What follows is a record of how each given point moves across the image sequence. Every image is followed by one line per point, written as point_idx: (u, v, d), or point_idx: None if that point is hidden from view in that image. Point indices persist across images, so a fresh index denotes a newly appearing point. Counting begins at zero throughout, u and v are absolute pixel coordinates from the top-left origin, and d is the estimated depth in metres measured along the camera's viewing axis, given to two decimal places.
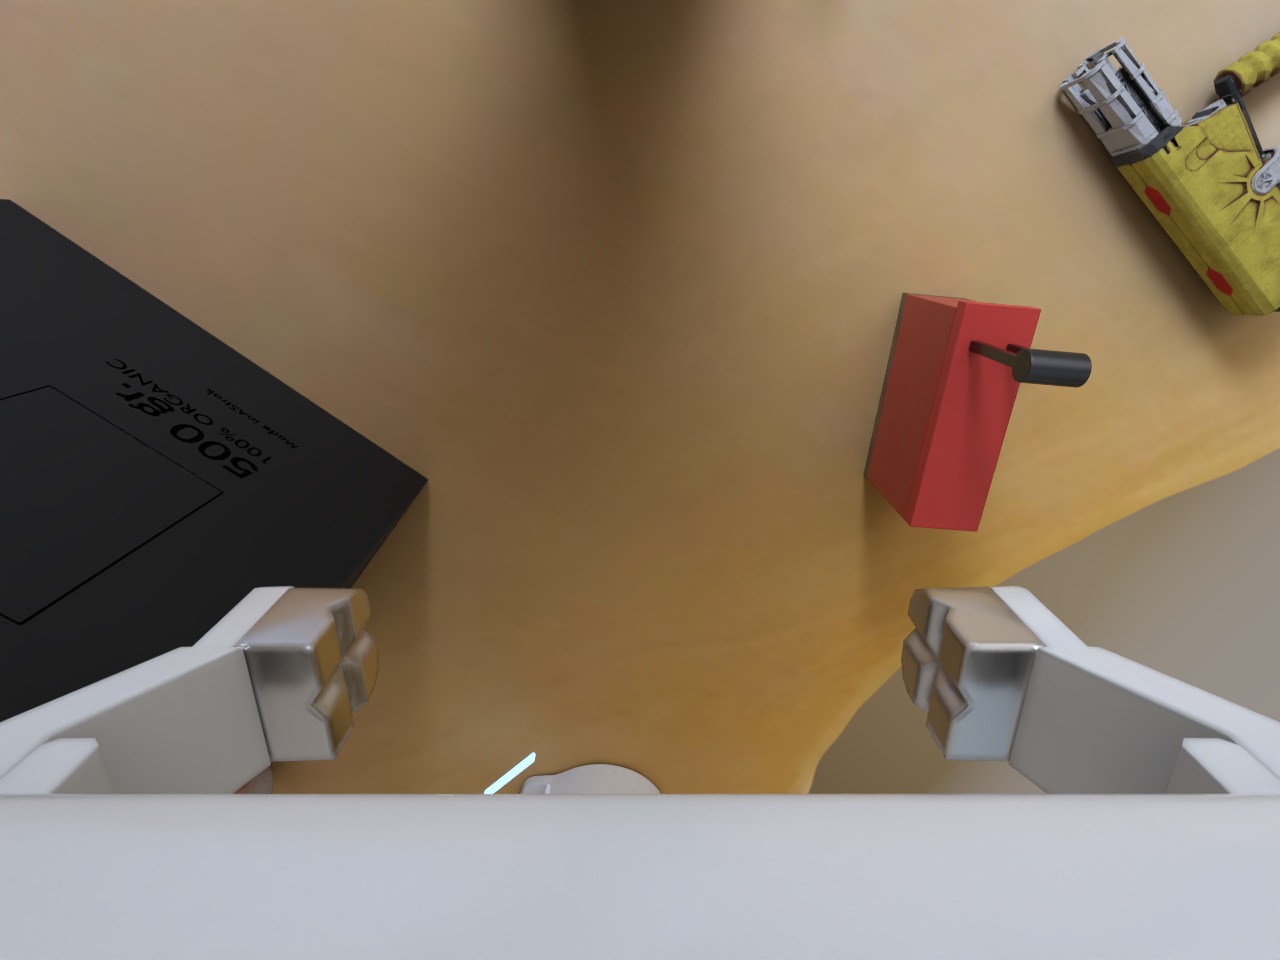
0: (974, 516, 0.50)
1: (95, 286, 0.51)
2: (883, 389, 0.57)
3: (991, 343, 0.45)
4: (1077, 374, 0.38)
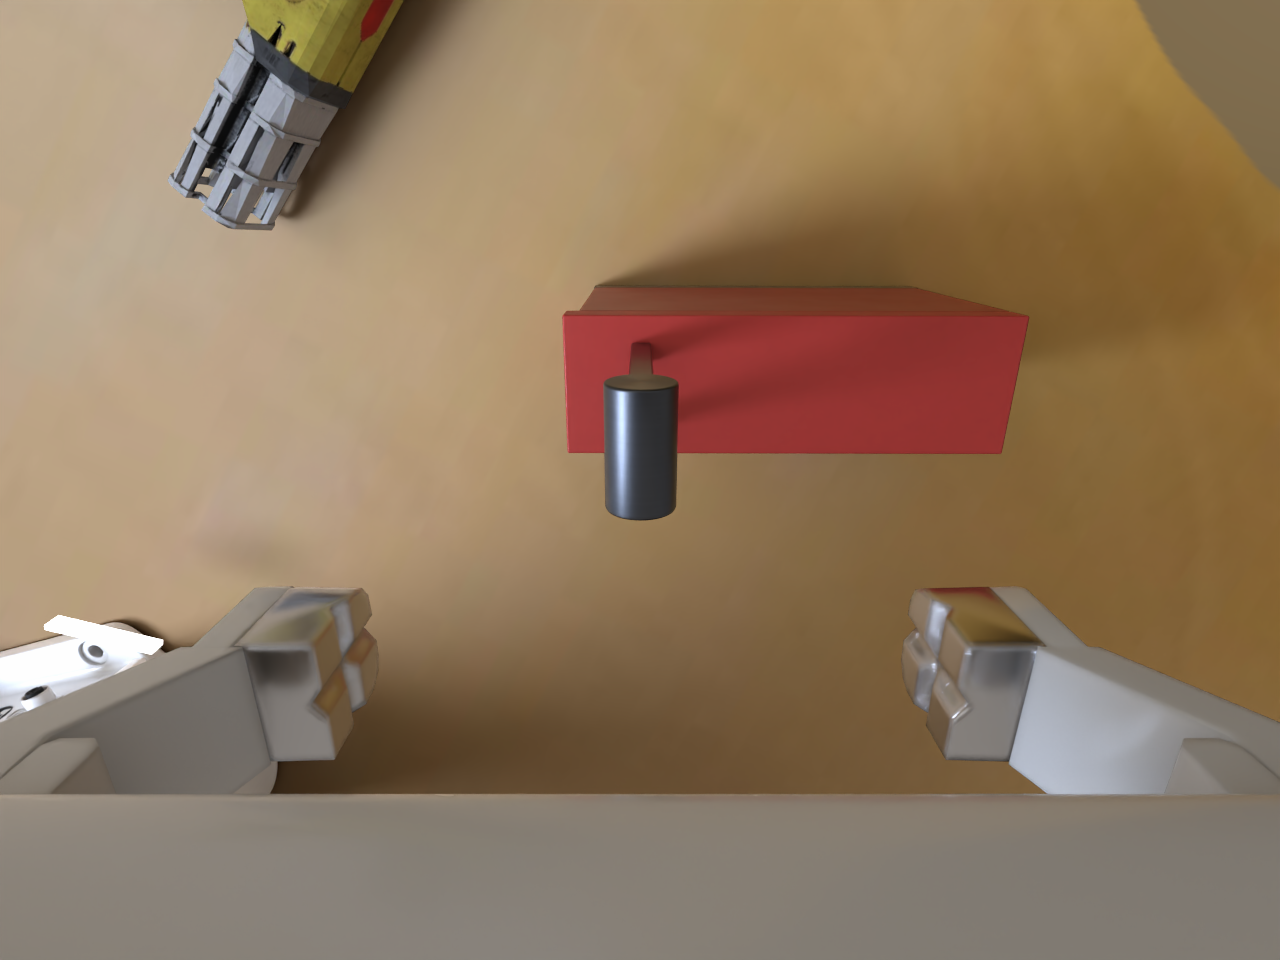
0: (992, 331, 0.24)
1: None
2: None
3: None
4: (644, 419, 0.17)
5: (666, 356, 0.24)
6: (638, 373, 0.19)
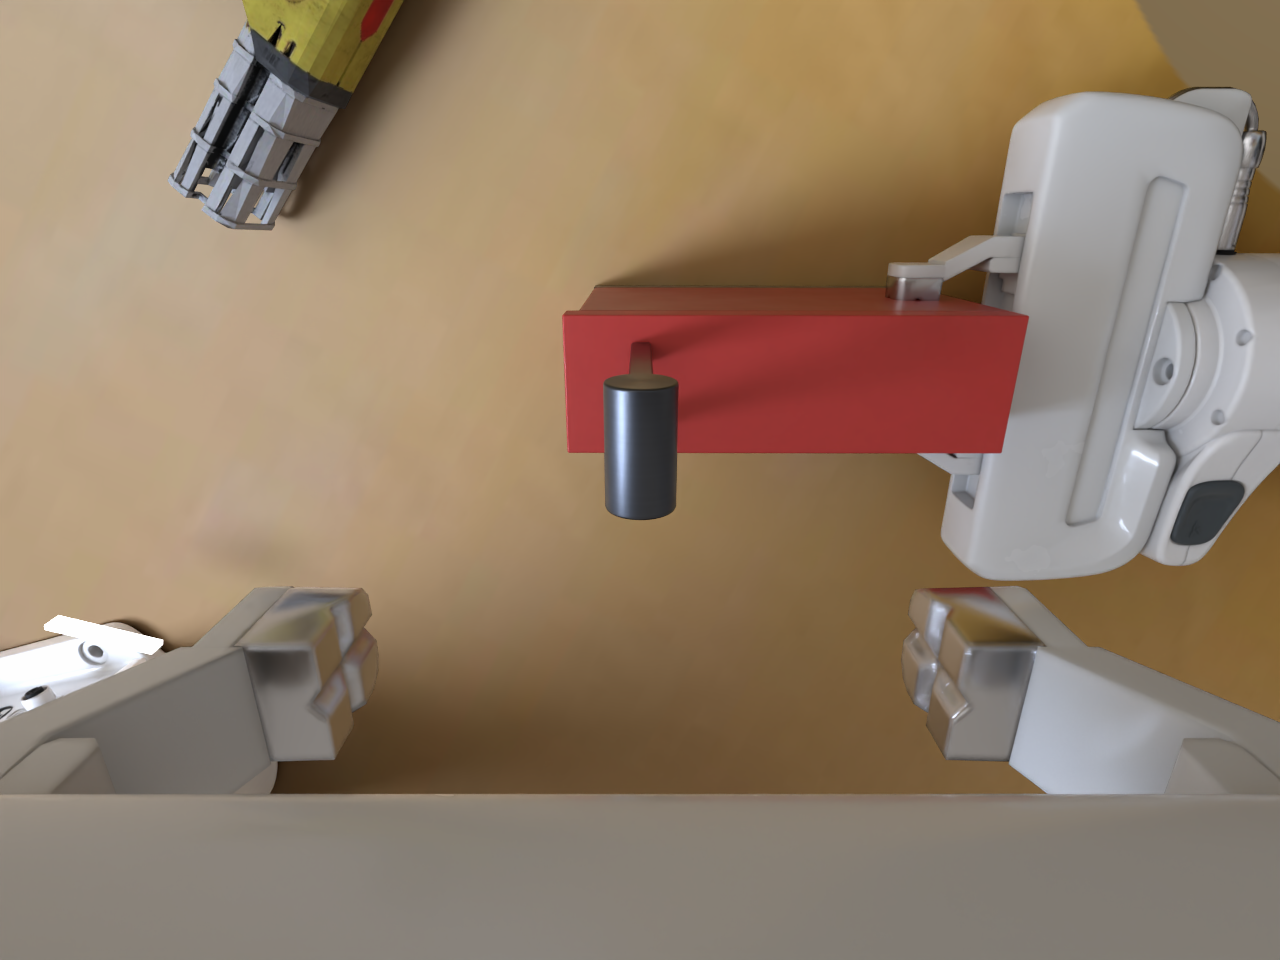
0: (992, 331, 0.24)
1: None
2: None
3: None
4: (644, 418, 0.17)
5: (666, 356, 0.24)
6: (638, 373, 0.19)
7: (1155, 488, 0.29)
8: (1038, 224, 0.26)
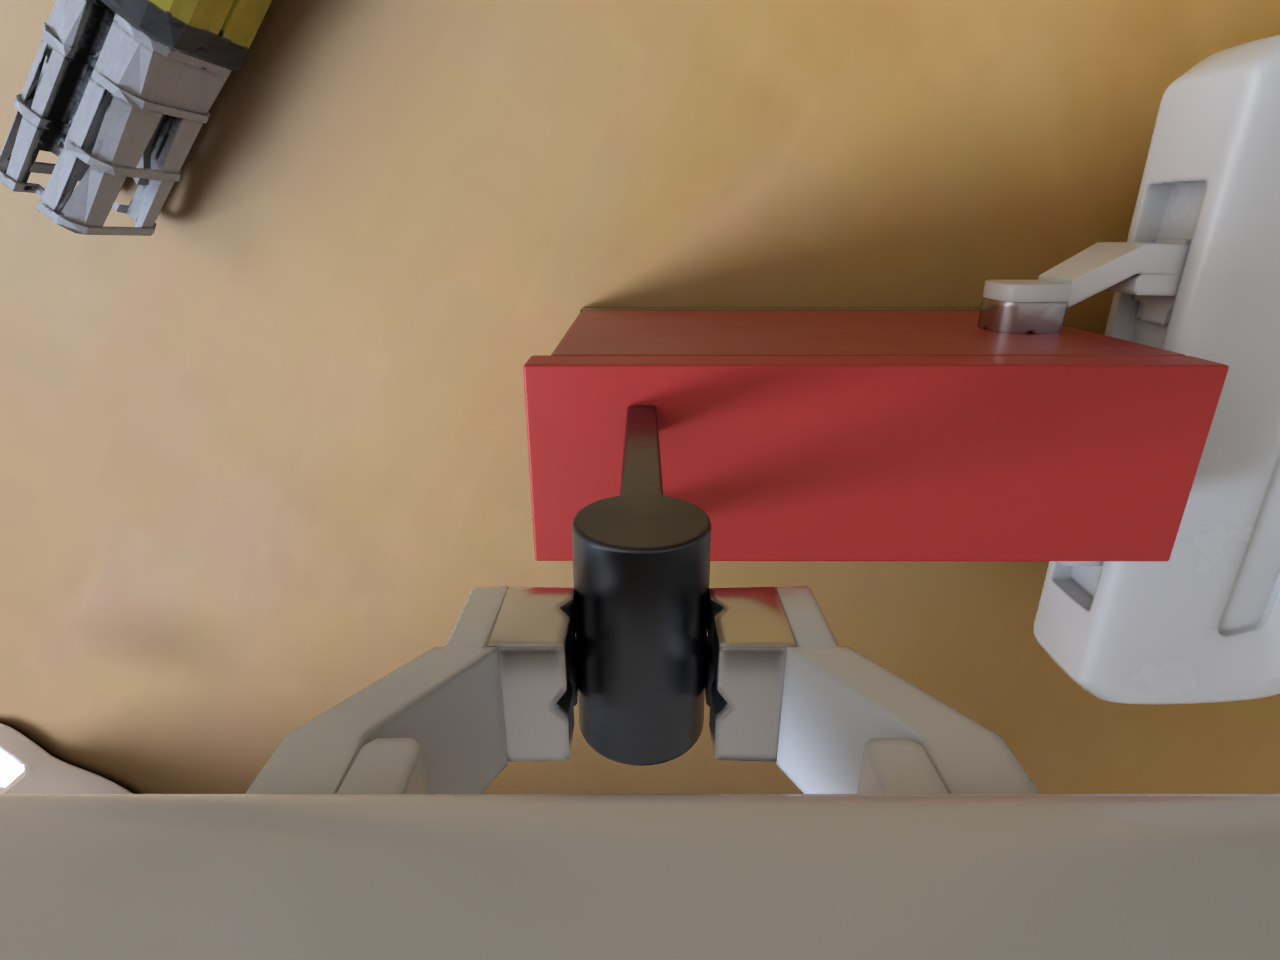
0: (1171, 388, 0.16)
1: None
2: None
3: None
4: (648, 600, 0.09)
5: (680, 425, 0.16)
6: (637, 484, 0.11)
7: None
8: (1214, 227, 0.18)
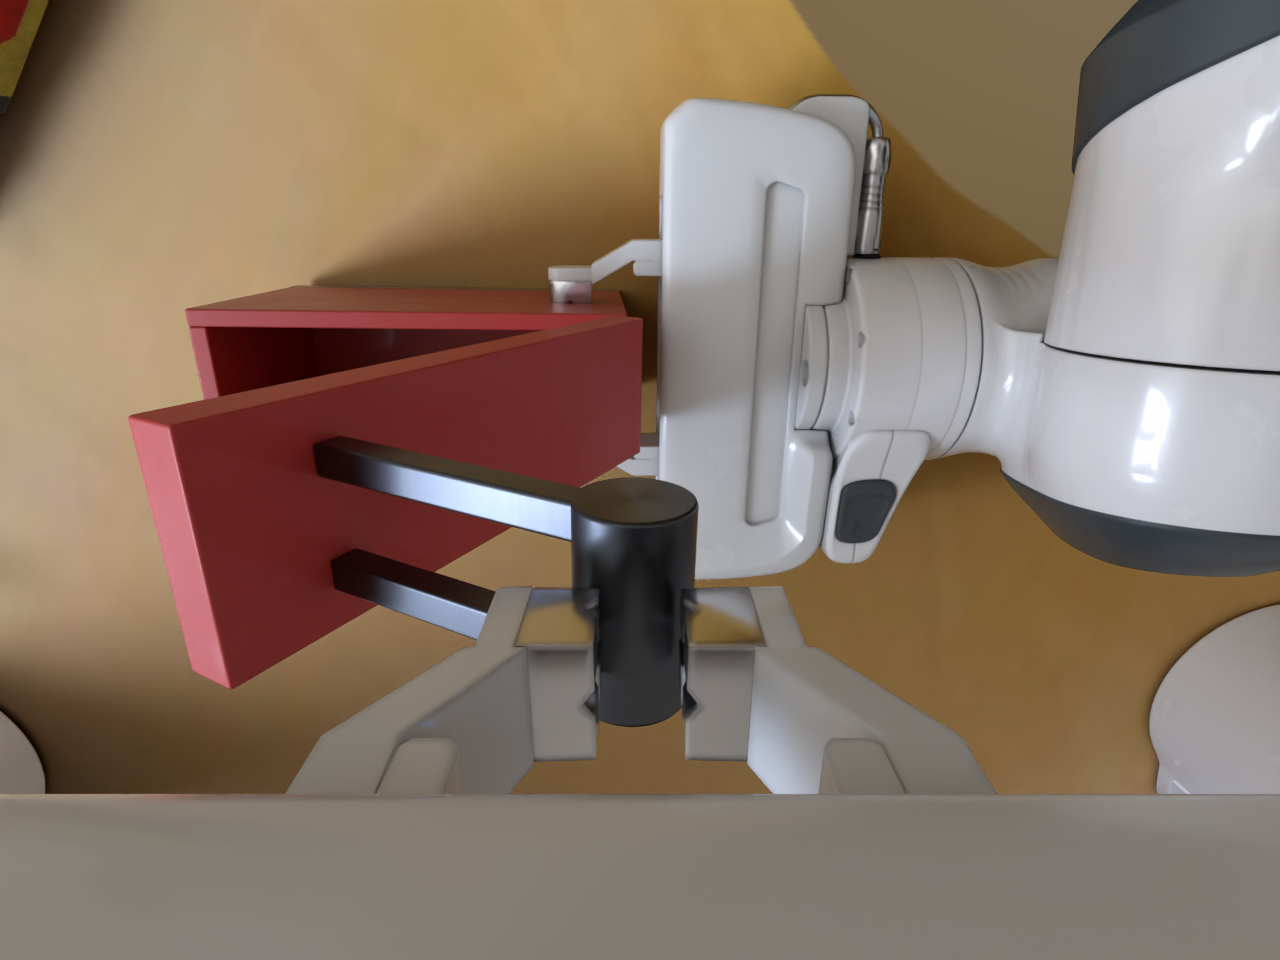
0: (627, 337, 0.23)
1: None
2: None
3: (327, 525, 0.14)
4: (692, 553, 0.10)
5: None
6: (540, 488, 0.11)
7: (815, 487, 0.29)
8: (667, 228, 0.26)
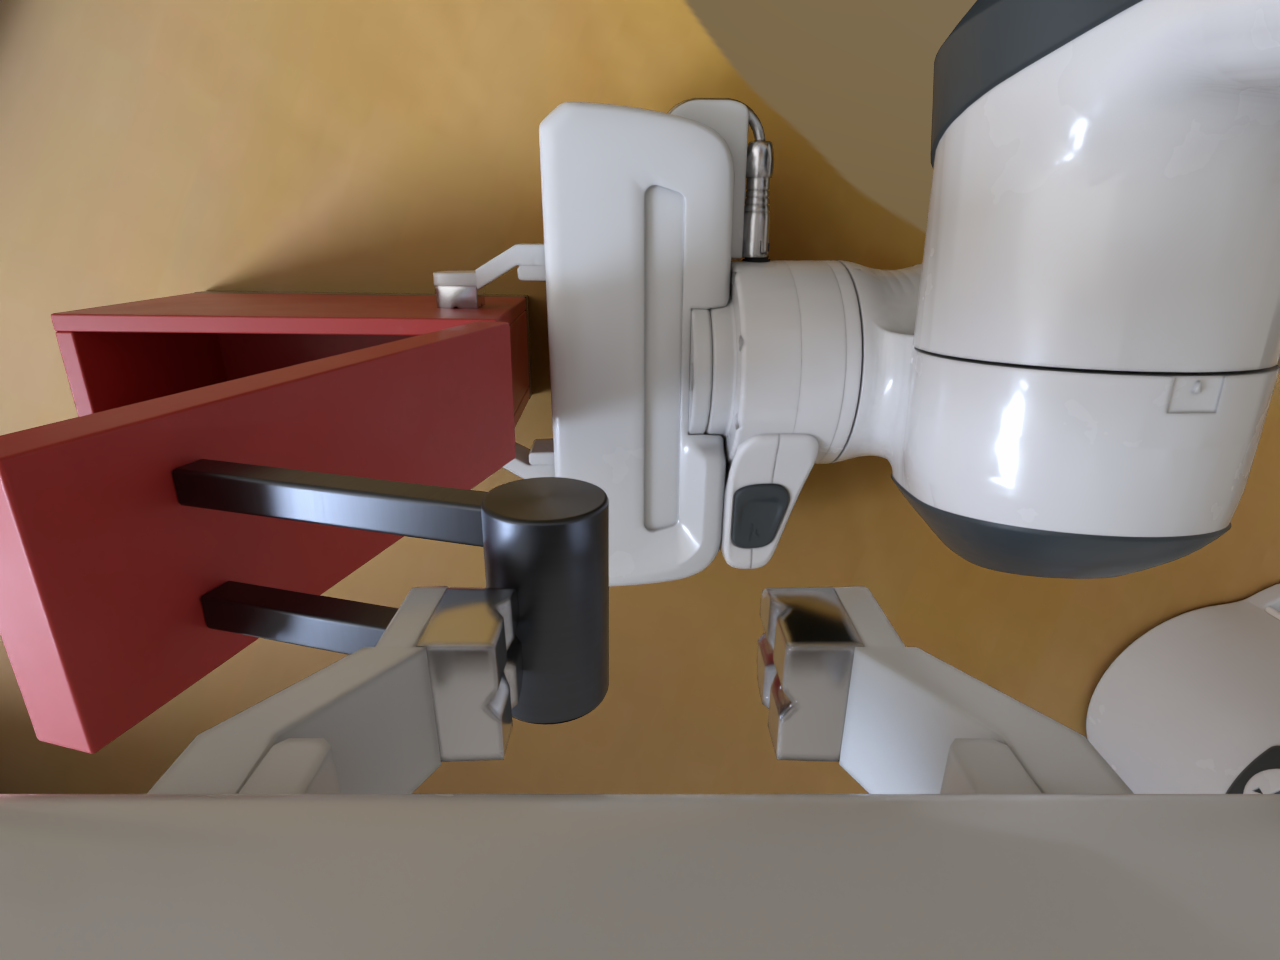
0: (495, 341, 0.23)
1: None
2: None
3: (194, 558, 0.12)
4: (606, 545, 0.10)
5: None
6: (444, 496, 0.11)
7: (709, 492, 0.29)
8: (547, 232, 0.26)
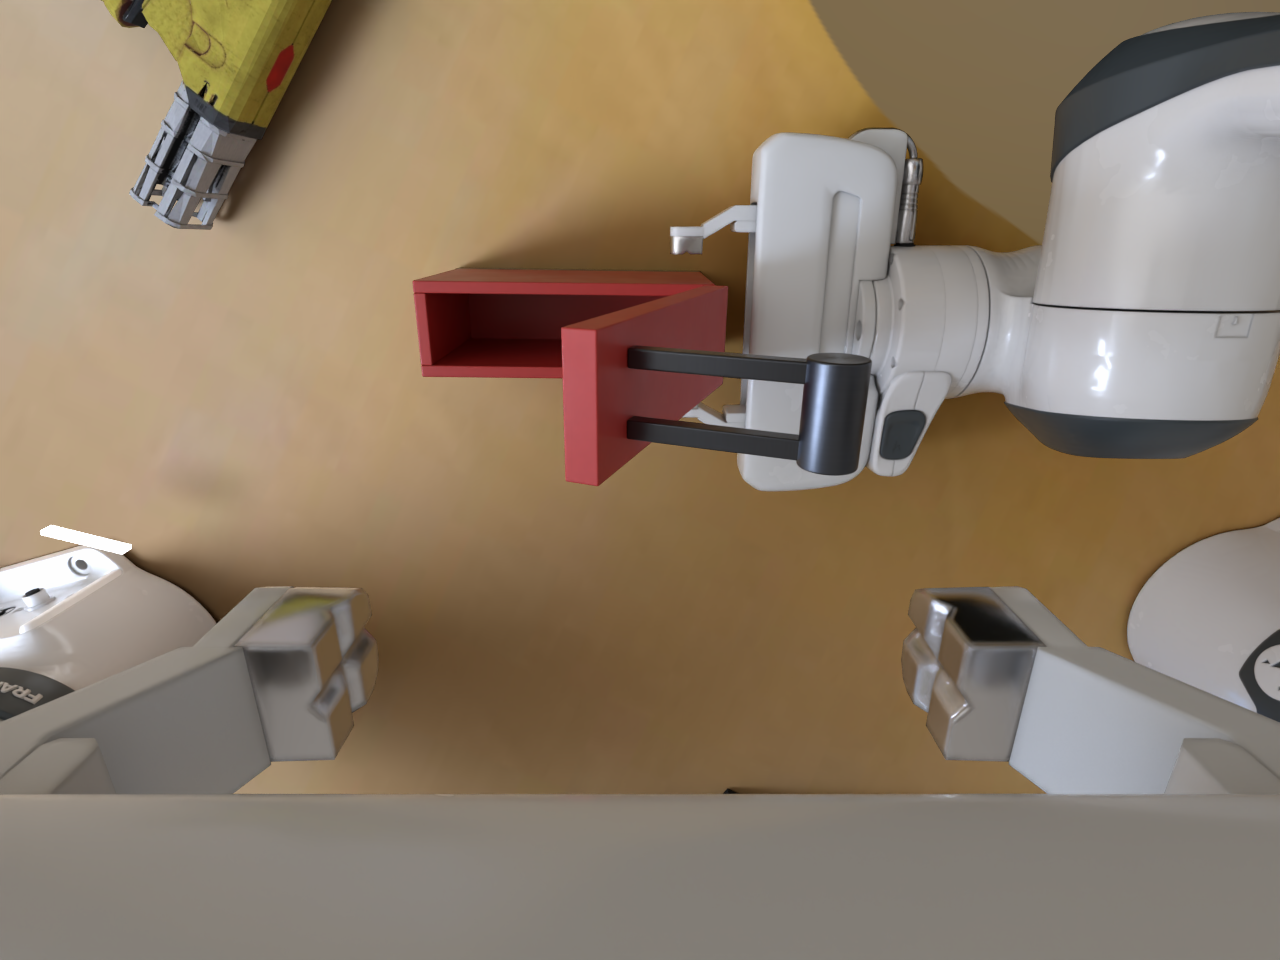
0: (721, 299, 0.34)
1: None
2: None
3: (627, 398, 0.23)
4: None
5: None
6: (782, 359, 0.21)
7: (865, 417, 0.39)
8: (760, 225, 0.37)
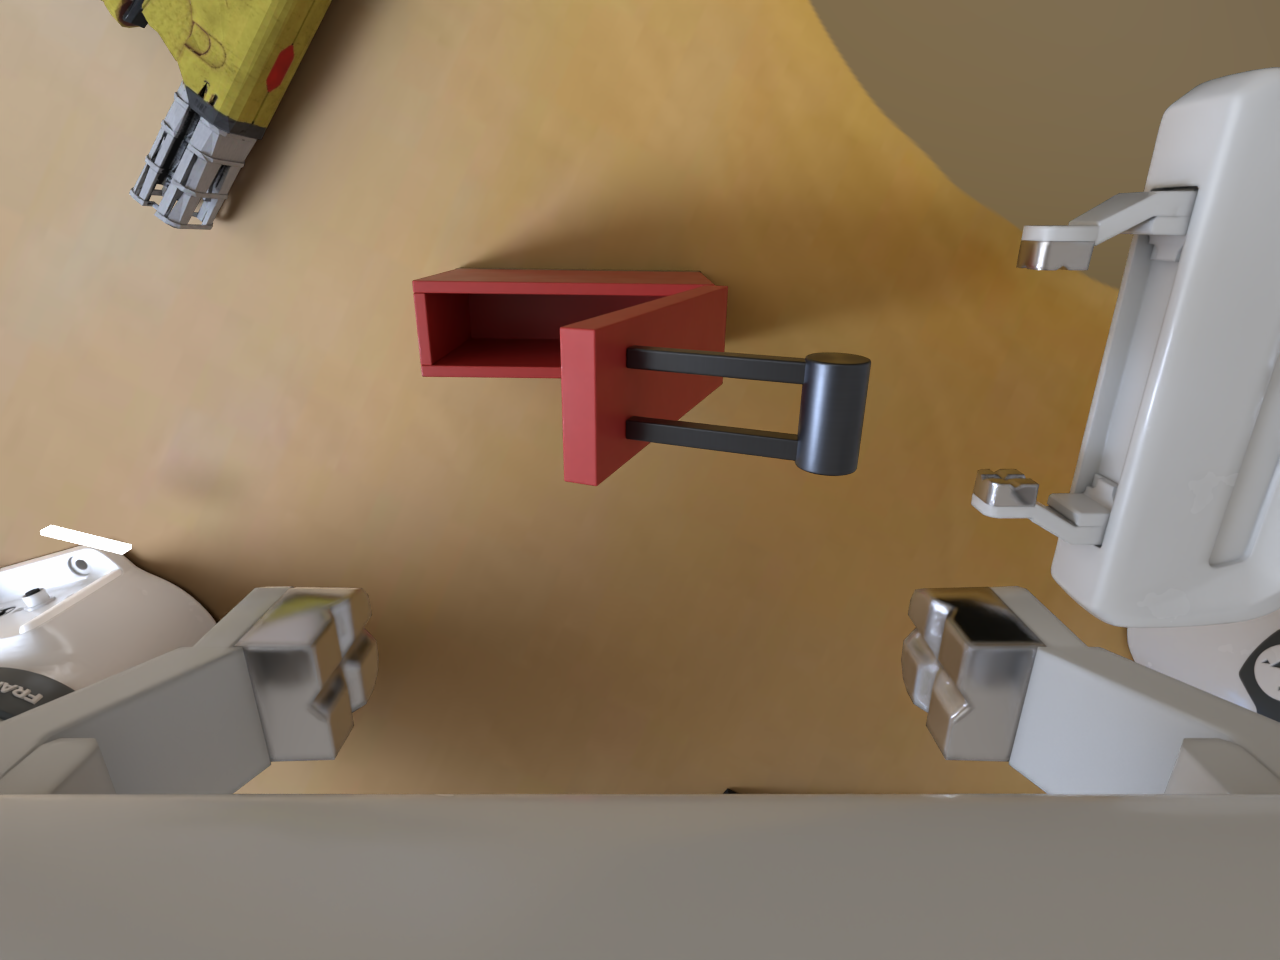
0: (721, 298, 0.34)
1: None
2: None
3: (626, 398, 0.23)
4: (867, 383, 0.21)
5: None
6: (781, 359, 0.21)
7: None
8: (1204, 223, 0.22)
